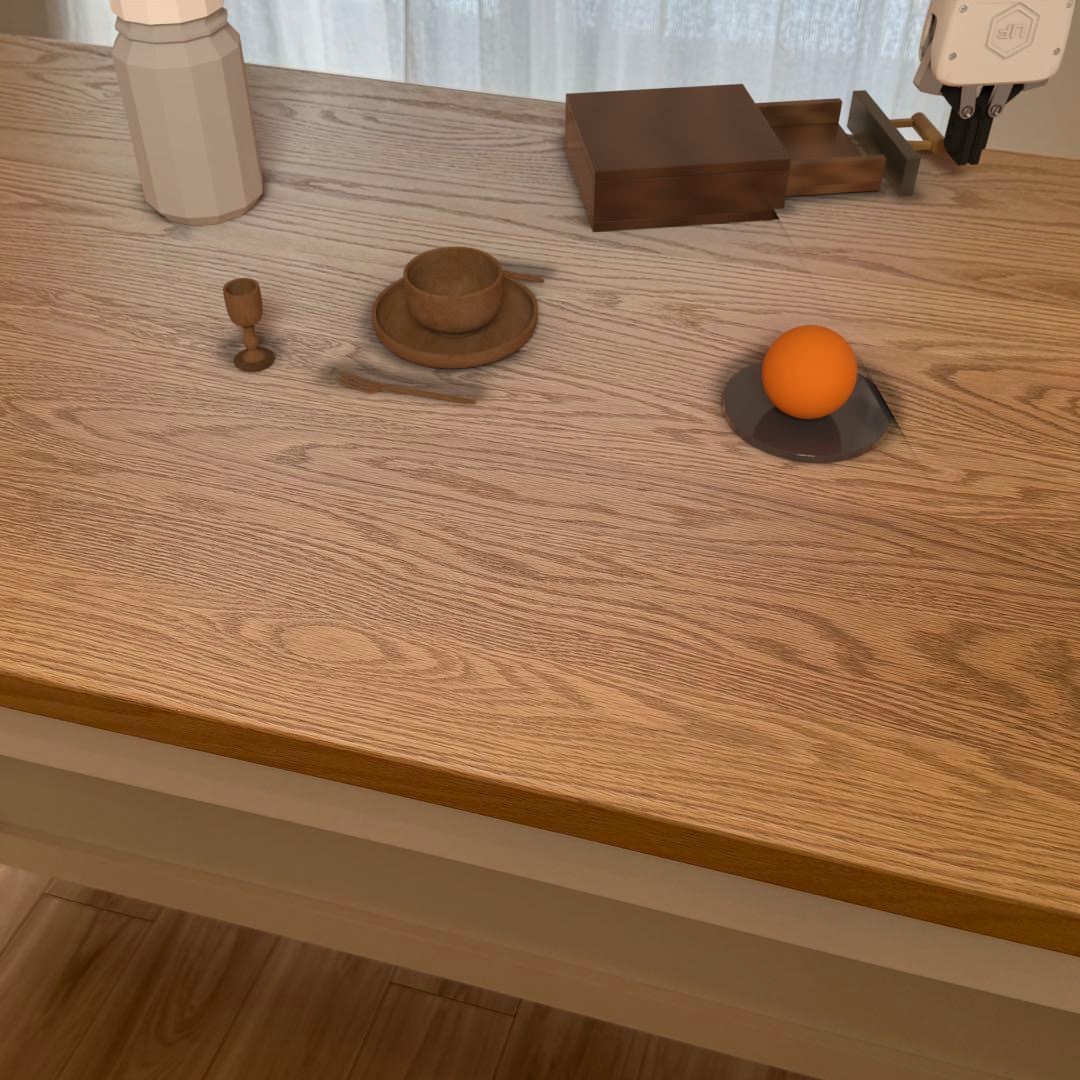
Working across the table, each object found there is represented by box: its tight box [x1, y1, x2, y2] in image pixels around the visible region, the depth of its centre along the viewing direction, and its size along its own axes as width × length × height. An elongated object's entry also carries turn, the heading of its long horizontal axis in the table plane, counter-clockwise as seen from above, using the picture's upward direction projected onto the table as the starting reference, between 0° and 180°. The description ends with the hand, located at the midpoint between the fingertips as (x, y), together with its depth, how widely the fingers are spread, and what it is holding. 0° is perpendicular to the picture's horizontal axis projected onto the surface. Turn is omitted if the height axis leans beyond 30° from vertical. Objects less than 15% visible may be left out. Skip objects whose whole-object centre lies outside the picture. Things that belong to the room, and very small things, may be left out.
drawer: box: [755, 89, 946, 198], centre depth 106 cm, size 19×14×3 cm
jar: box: [108, 0, 264, 227], centre depth 98 cm, size 10×10×18 cm
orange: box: [762, 324, 858, 419], centre depth 80 cm, size 6×6×6 cm
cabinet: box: [564, 83, 791, 233], centre depth 105 cm, size 16×15×5 cm
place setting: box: [222, 246, 545, 405], centre depth 88 cm, size 18×20×6 cm
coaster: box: [722, 360, 892, 464], centre depth 83 cm, size 11×11×1 cm
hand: (961, 157), depth 102 cm, fingers closed
